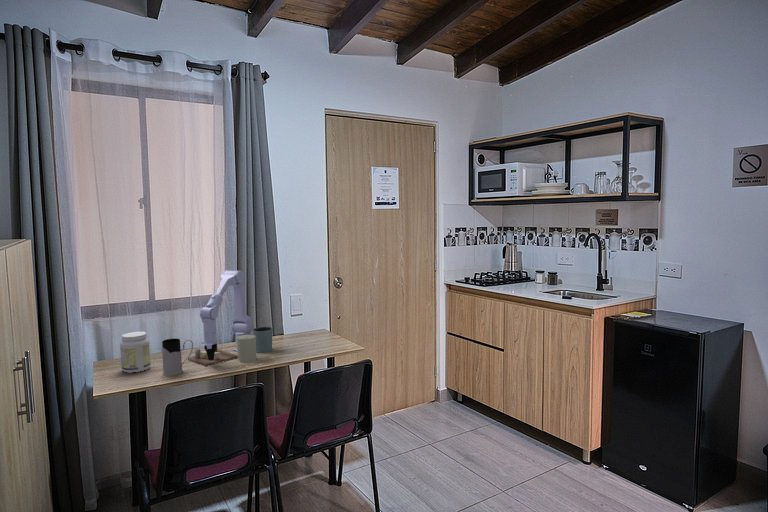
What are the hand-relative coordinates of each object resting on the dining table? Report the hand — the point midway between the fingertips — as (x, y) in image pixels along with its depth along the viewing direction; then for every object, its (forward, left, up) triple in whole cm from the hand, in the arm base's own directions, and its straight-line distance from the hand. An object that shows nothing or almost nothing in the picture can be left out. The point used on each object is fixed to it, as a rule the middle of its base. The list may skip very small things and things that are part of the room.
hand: (211, 360), depth 234 cm
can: (-16, +6, -3) cm, 17 cm away
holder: (+14, -4, -3) cm, 15 cm away
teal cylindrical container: (-30, 0, -3) cm, 30 cm away
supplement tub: (+25, -23, -3) cm, 34 cm away
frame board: (-7, -9, -3) cm, 12 cm away
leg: (-3, -7, -1) cm, 8 cm away
